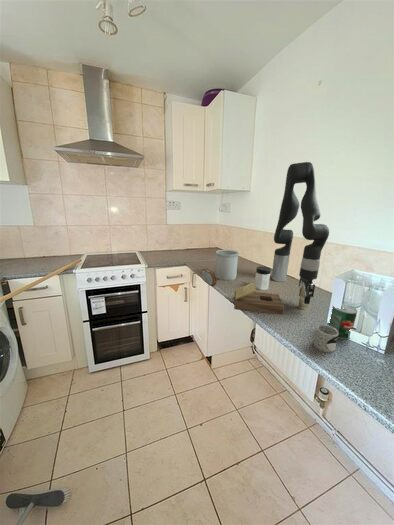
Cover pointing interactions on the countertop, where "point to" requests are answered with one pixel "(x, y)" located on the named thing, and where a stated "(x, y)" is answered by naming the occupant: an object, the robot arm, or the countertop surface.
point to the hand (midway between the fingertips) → (303, 299)
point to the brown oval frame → (209, 277)
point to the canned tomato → (342, 321)
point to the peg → (302, 299)
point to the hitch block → (260, 303)
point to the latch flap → (245, 291)
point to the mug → (325, 338)
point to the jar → (262, 278)
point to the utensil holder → (226, 264)
